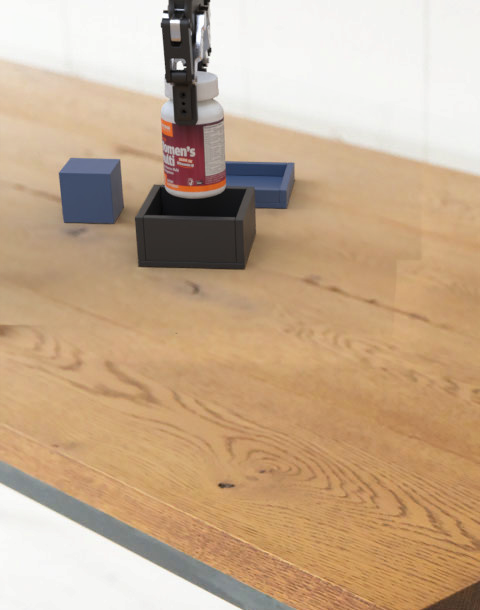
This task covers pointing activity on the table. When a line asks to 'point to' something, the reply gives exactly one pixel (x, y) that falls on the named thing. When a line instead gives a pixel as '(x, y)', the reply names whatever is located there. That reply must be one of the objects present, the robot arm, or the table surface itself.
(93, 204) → the blue block
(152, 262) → the charcoal bin
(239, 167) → the blue tray
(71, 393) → the table surface
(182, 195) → the pill bottle
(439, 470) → the table surface
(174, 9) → the robot arm
